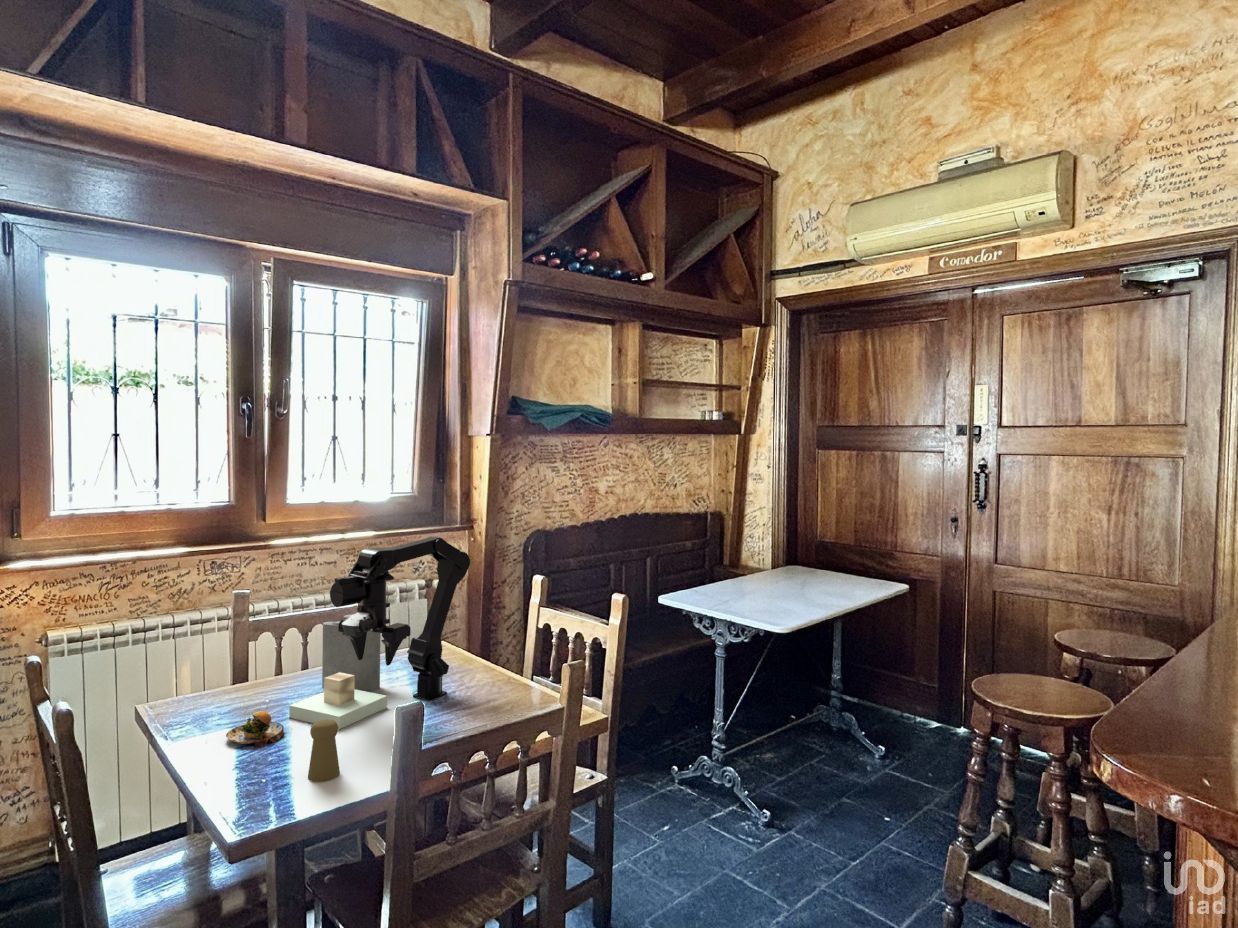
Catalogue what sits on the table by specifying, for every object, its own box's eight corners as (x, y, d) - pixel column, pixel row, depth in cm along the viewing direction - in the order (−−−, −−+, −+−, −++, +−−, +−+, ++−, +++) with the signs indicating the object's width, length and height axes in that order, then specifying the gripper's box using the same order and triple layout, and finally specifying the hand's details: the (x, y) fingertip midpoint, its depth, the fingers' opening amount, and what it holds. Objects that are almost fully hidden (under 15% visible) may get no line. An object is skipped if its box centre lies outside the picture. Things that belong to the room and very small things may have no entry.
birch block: (339, 695, 186) (339, 672, 186) (354, 698, 184) (354, 675, 184) (323, 701, 182) (324, 677, 181) (339, 705, 180) (339, 680, 179)
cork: (313, 768, 152) (313, 715, 151) (343, 768, 152) (344, 715, 152) (303, 782, 146) (303, 727, 145) (334, 781, 146) (335, 726, 146)
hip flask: (381, 686, 203) (382, 614, 202) (375, 691, 199) (376, 617, 198) (325, 684, 204) (326, 612, 203) (318, 689, 200) (319, 615, 199)
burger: (228, 732, 170) (228, 700, 170) (284, 725, 175) (284, 694, 174) (223, 753, 159) (223, 718, 159) (283, 745, 164) (283, 711, 163)
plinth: (339, 697, 194) (339, 685, 193) (386, 707, 187) (386, 695, 187) (289, 717, 179) (289, 705, 179) (339, 729, 172) (339, 716, 172)
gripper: (320, 602, 179) (320, 665, 179) (378, 611, 170) (378, 677, 171) (355, 593, 189) (355, 653, 189) (412, 601, 180) (412, 664, 181)
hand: (374, 662), depth 182 cm, fingers open, 9 cm apart
